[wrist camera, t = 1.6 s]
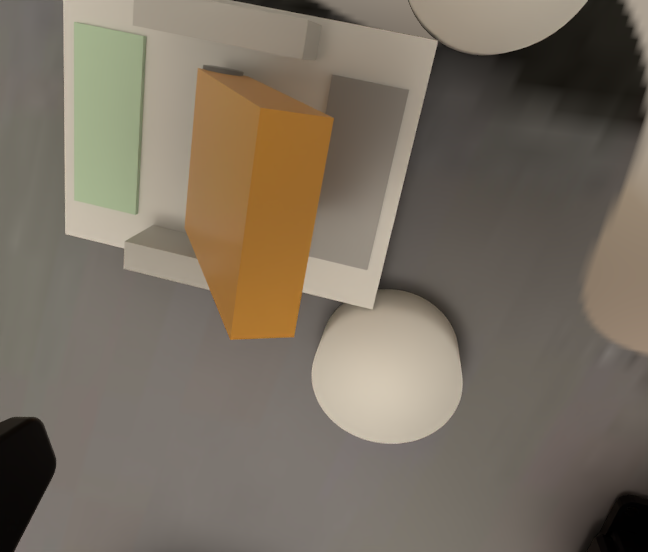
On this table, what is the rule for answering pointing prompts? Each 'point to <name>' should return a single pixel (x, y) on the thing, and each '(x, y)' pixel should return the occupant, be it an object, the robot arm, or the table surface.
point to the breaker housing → (178, 114)
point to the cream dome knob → (388, 368)
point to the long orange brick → (254, 198)
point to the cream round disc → (493, 22)
